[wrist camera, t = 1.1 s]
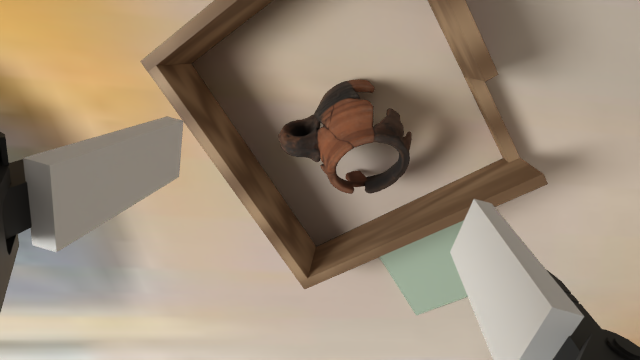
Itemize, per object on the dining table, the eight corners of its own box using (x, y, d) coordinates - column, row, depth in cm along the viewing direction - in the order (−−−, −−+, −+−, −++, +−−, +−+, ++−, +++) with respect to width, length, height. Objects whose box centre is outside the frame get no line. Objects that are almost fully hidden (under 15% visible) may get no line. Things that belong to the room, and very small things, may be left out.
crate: (177, 60, 34) (140, 61, 28) (391, -108, 27) (397, -151, 21) (313, 256, 40) (304, 289, 34) (517, 161, 33) (547, 183, 27)
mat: (371, 243, 38) (371, 244, 38) (474, 196, 35) (475, 198, 34) (415, 312, 41) (416, 315, 40) (515, 276, 37) (517, 278, 37)
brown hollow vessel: (399, 67, 31) (429, 119, 26) (389, 143, 38) (410, 198, 32) (271, 79, 31) (273, 135, 25) (284, 155, 38) (287, 212, 32)
